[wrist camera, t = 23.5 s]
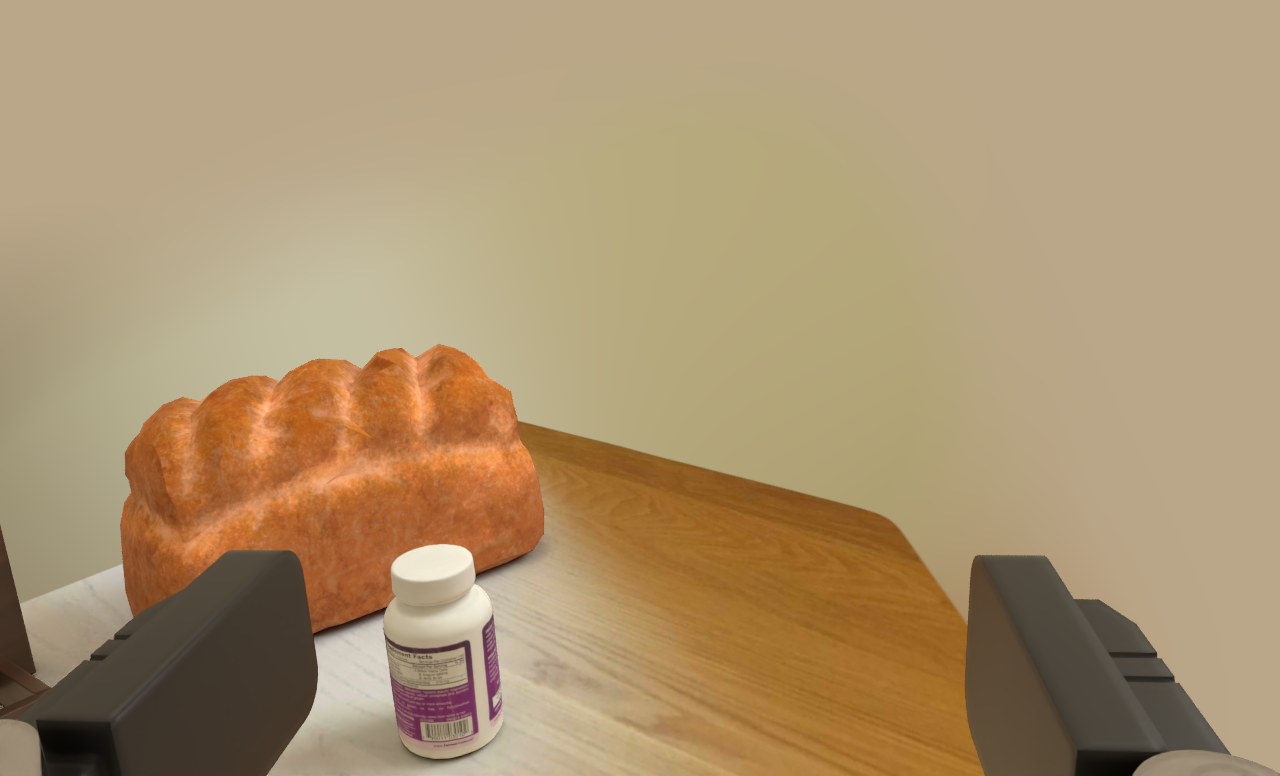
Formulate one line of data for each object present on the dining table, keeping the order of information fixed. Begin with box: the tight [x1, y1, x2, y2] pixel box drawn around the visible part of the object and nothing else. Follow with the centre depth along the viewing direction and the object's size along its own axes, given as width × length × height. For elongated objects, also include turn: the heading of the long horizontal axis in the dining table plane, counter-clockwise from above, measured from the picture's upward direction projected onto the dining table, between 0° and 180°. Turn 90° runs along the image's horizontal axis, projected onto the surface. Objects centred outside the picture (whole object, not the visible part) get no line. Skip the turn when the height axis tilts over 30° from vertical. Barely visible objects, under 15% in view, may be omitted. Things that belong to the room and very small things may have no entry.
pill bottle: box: [383, 544, 503, 759], centre depth 50 cm, size 5×5×10 cm
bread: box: [120, 344, 544, 633], centre depth 66 cm, size 14×26×16 cm, turn 129°
